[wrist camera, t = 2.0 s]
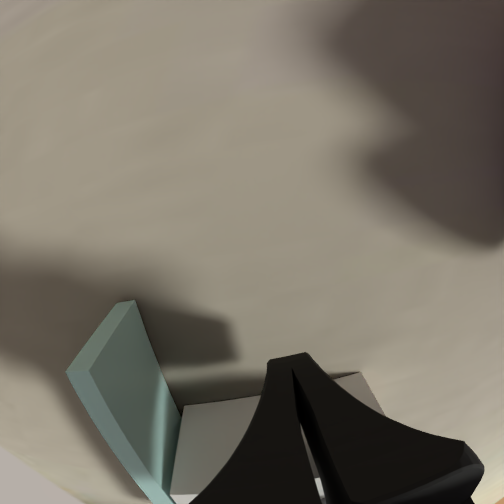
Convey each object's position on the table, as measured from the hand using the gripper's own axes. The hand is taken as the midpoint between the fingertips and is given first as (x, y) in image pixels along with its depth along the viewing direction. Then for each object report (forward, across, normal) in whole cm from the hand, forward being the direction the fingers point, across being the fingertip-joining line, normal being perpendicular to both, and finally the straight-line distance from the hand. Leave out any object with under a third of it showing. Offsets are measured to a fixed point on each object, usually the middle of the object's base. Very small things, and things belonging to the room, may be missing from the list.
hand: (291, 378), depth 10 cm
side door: (+2, +6, +5) cm, 7 cm away
